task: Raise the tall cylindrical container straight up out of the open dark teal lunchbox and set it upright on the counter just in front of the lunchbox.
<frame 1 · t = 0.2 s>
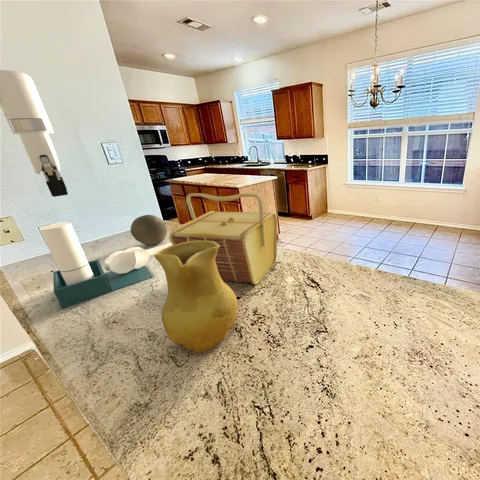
hand: (60, 193, 74), 35 cm above the worktop, tool pointing down, fingers open, 9 cm apart
pitcher: (210, 334, 69), on the worktop
picnic basket: (236, 271, 100), on the worktop
white long scooped piece: (160, 258, 113), on the worktop, touching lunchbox
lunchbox: (86, 290, 92), on the worktop
cylindrical container: (87, 294, 90), resting in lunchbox
cantaloupe: (154, 245, 129), on the worktop
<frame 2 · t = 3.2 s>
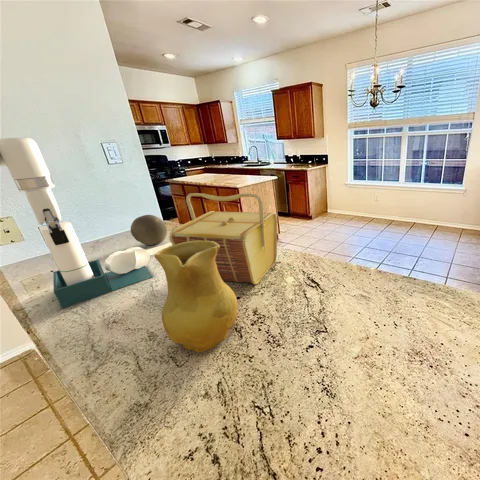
hand: (61, 240, 82), 20 cm above the worktop, tool pointing down, fingers closed on cylindrical container, 7 cm apart
cylindrical container: (87, 294, 90), resting in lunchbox, touching gripper
everything else where it was.
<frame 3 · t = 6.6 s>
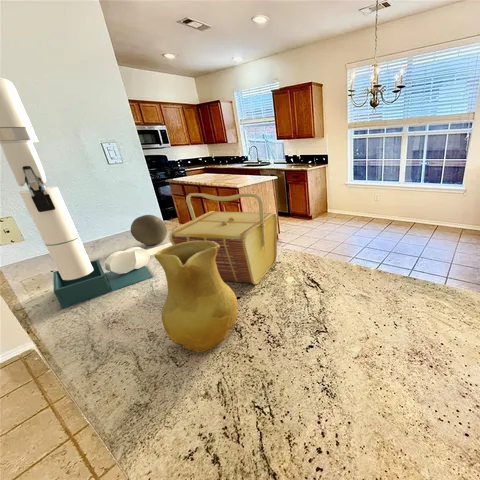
hand: (47, 207, 70), 33 cm above the worktop, tool pointing down, fingers closed on cylindrical container, 7 cm apart
cylindrical container: (78, 274, 78), point 12 cm above the worktop, touching gripper
everything else where it was.
when the fingers open (20 cm above the worktop, at t = 9.9 s): cylindrical container stays where it is, on the worktop.
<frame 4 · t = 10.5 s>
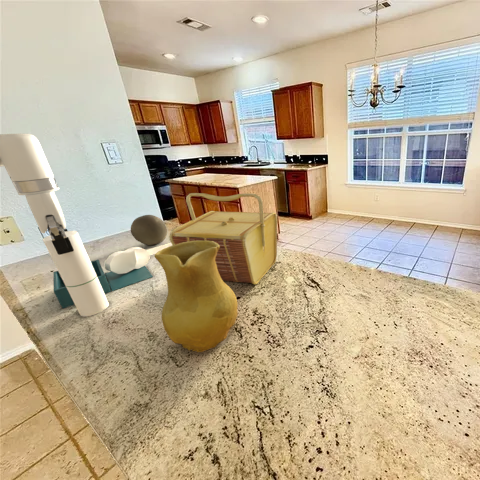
hand: (65, 247, 73), 21 cm above the worktop, tool pointing down, fingers open, 9 cm apart
cylindrical container: (95, 310, 82), on the worktop
everything else where it was.
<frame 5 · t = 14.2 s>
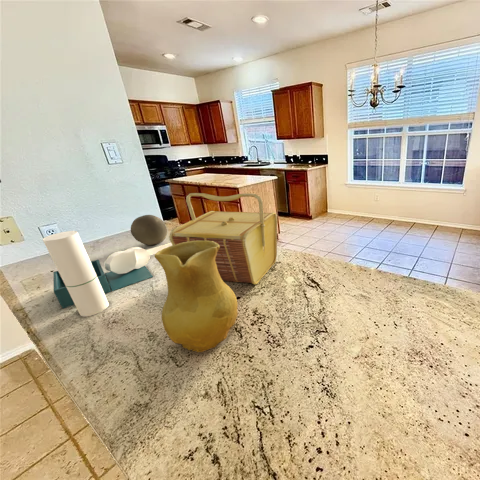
nothing on the worktop moved.
at the end: cylindrical container inside the target area (0.1 cm from its centre), on the worktop; cylindrical container tilted 0°; the gripper is holding nothing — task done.
